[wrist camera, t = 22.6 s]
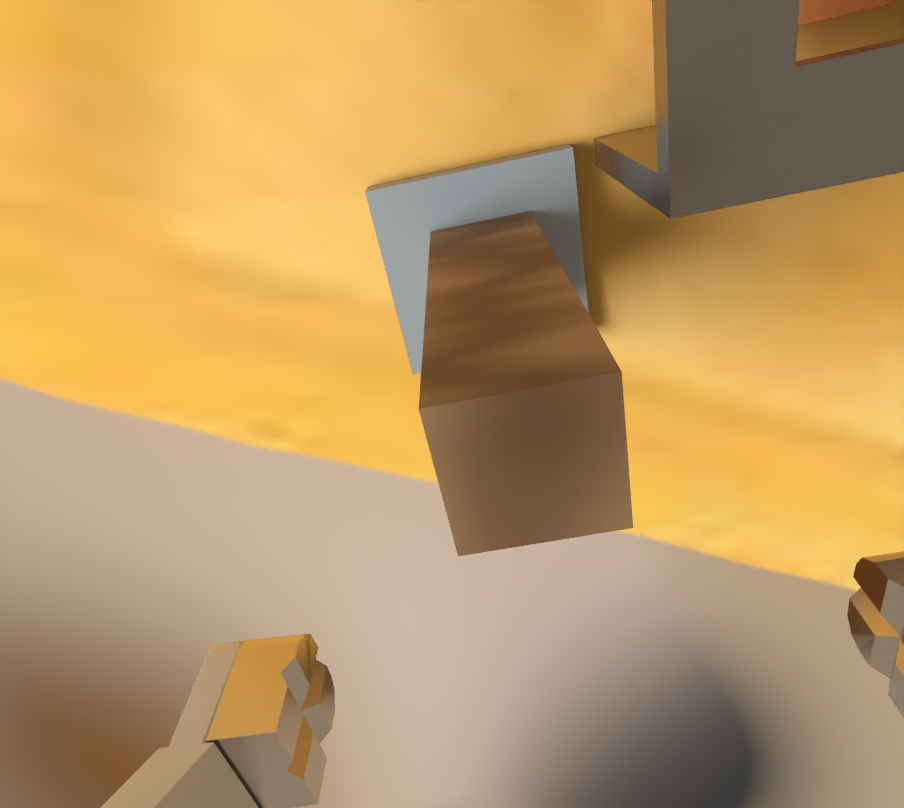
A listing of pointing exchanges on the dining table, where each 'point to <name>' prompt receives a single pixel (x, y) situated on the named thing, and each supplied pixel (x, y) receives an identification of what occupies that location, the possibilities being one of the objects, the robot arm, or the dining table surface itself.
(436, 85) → the dining table surface
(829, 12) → the button
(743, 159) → the frame
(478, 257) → the brown rectangular block
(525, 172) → the slate pad
